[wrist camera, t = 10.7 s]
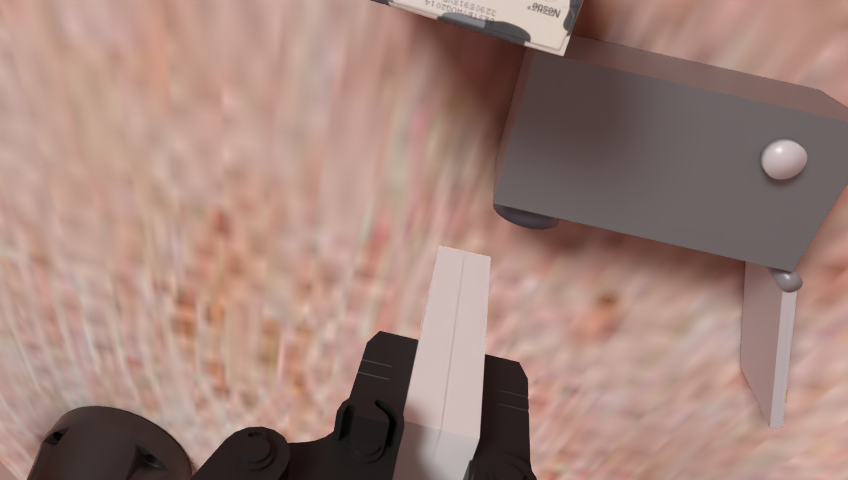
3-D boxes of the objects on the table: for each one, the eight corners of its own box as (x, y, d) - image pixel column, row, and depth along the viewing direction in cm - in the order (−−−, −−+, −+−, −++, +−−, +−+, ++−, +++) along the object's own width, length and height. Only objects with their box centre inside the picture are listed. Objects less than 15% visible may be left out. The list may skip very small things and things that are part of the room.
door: (764, 363, 47) (798, 428, 41) (736, 364, 47) (767, 429, 41) (775, 220, 41) (818, 273, 35) (744, 224, 41) (781, 276, 35)
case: (490, 178, 42) (485, 232, 35) (531, 25, 36) (536, 54, 30) (740, 236, 42) (783, 301, 35) (820, 90, 36) (890, 134, 29)
